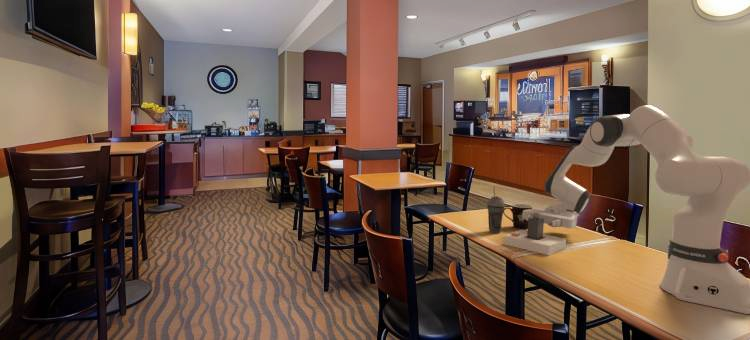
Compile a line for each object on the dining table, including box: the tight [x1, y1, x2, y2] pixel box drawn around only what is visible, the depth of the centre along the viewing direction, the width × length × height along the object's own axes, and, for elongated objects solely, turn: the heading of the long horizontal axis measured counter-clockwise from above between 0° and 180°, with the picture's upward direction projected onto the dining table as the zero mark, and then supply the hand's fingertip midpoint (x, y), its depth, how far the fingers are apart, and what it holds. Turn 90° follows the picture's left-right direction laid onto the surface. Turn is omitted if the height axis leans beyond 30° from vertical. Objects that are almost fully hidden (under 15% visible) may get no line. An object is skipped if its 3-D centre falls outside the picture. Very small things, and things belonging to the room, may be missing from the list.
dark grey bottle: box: [527, 212, 545, 240], centre depth 166 cm, size 4×4×13 cm
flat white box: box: [503, 229, 567, 256], centre depth 166 cm, size 18×14×4 cm
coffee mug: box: [503, 203, 533, 230], centre depth 195 cm, size 12×9×10 cm
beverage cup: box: [486, 185, 506, 234], centre depth 185 cm, size 7×7×20 cm
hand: (539, 221), depth 168 cm, fingers open, 8 cm apart
